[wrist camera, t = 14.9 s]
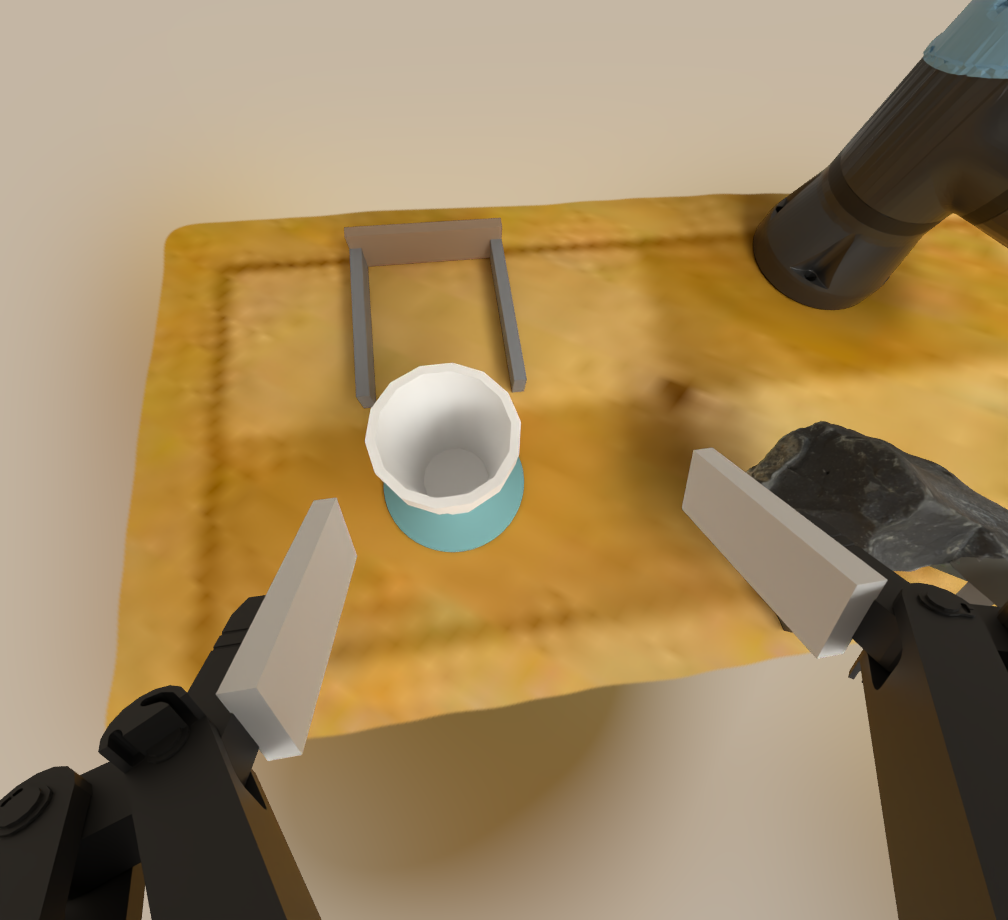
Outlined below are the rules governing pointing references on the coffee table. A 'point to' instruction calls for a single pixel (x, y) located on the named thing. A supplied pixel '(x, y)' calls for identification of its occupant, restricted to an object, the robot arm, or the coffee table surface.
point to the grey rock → (892, 506)
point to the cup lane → (421, 247)
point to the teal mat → (460, 518)
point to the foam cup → (444, 438)
